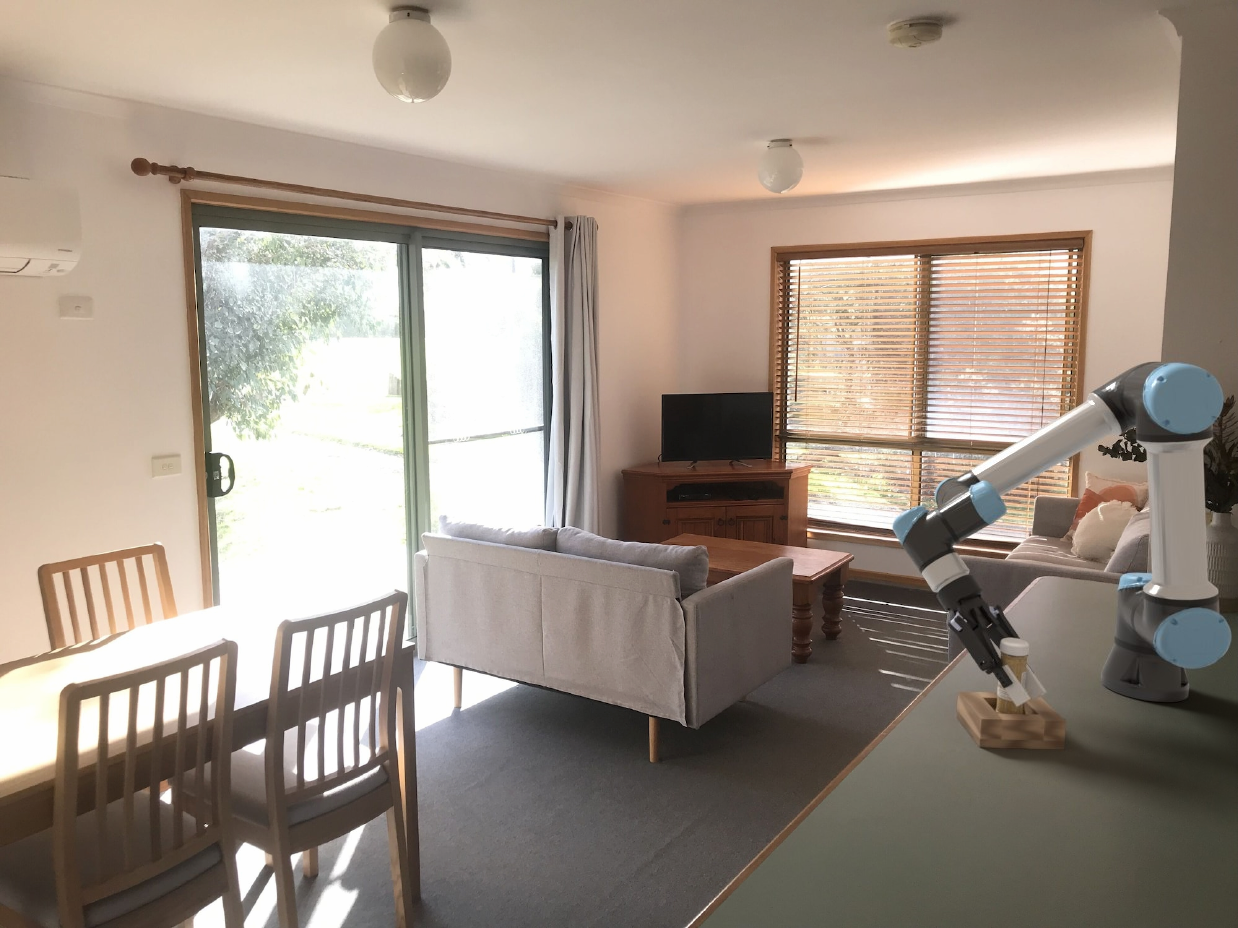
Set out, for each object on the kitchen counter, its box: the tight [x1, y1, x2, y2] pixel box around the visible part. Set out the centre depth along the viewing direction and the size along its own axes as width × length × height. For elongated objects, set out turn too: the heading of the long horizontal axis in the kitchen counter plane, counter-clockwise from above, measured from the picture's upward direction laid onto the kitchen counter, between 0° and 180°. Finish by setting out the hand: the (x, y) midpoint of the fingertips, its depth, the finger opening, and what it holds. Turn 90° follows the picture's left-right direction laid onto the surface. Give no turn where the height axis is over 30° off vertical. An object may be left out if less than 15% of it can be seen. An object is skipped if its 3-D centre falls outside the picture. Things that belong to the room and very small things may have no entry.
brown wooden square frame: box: [956, 691, 1067, 750], centre depth 160 cm, size 14×12×5 cm
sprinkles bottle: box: [996, 638, 1030, 714], centre depth 159 cm, size 5×5×14 cm
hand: (1031, 699), depth 156 cm, fingers closed on sprinkles bottle, 4 cm apart
